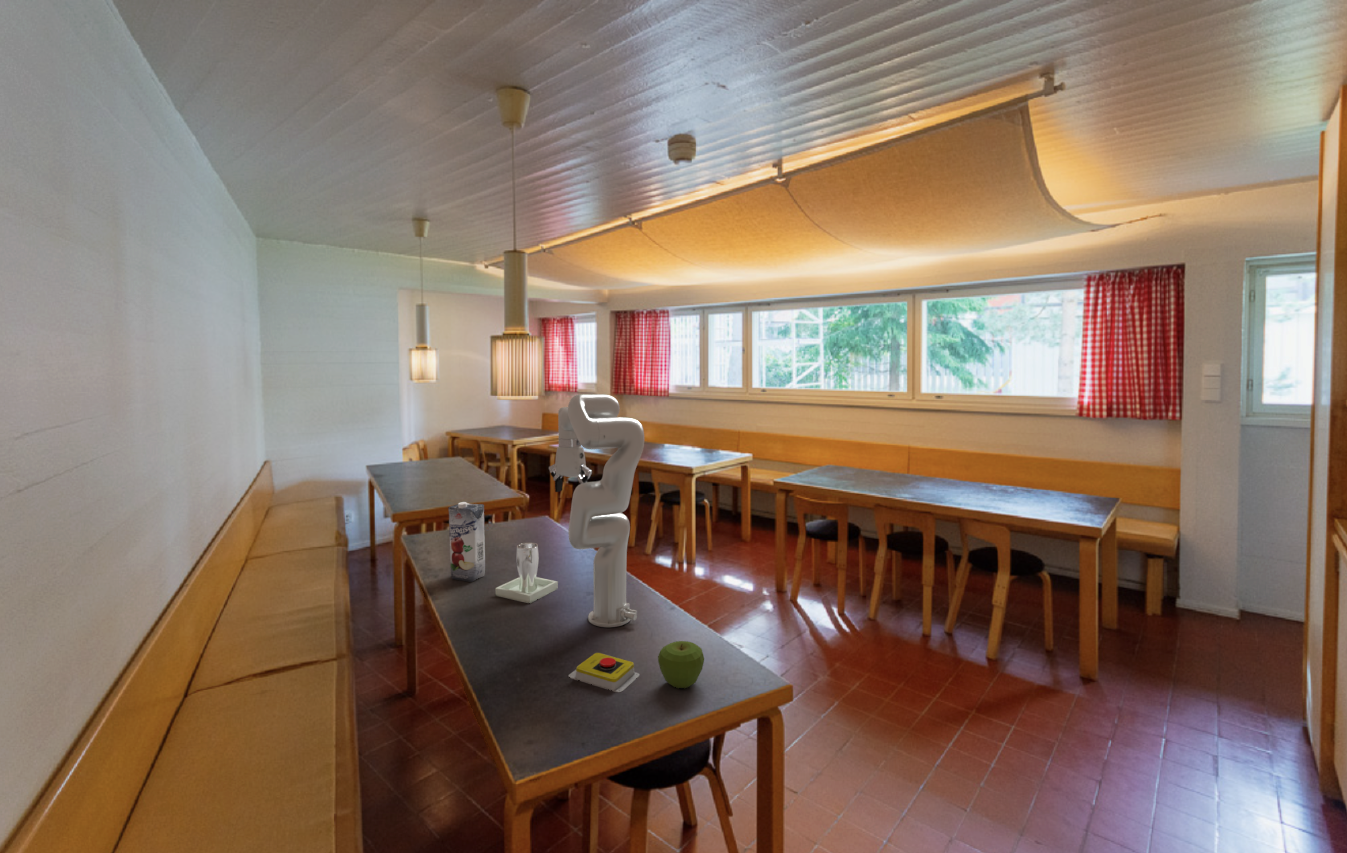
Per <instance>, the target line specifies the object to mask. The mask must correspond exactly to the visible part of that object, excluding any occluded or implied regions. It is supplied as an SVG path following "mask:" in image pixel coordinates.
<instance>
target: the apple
mask: <svg viewBox="0 0 1347 853" xmlns="http://www.w3.org/2000/svg"><path fill="white" fill-rule="evenodd" d="M657 662H658V665H659V669H660V672H661V674H662V676H663V679H664V681H666V683H668V684H669V685H670V686H672V687H673V688H675V687H676V688H675V689H679V688H684V689H687V688H689V687H690V686H692V685H695V683H697V681H698V678H699V676H700V675H701V672H702V670H703V666H704V663H705V657H704V653H703V649H702V647H700V646H699V645H697V644H696V643H694V642H691V641H686V640H678V641H673V642H669V643H668V644H666V645H664V646H662V648H661V650H660V651H659V653H658V656H657Z"/></svg>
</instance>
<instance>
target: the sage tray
mask: <svg viewBox="0 0 1347 853" xmlns="http://www.w3.org/2000/svg"><path fill="white" fill-rule="evenodd" d="M519 583H520V580H519V576H518V577H517V578H514V579H512V580H510V581H507V582H506V583H503V584H501V585H499V586H497V587H495V596H496V597H500V598H504V599H509V600H514V601H516V602H522V603H527V604H529V603H530V604H532V603H534V602H536V601H537V599H538V600H539V599H542V598H543V597H546V596H547V595H549V594H551V593H552V592H553V593H554V591H557V590H558V589H559V585H558V584H559V581H556V580H553V579H547V578H543V577H539V576H536V583H537V588H538V590H537V591H535V592H533V593H531V594H526V593H522V592H519V591H518V590H519Z"/></svg>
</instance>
